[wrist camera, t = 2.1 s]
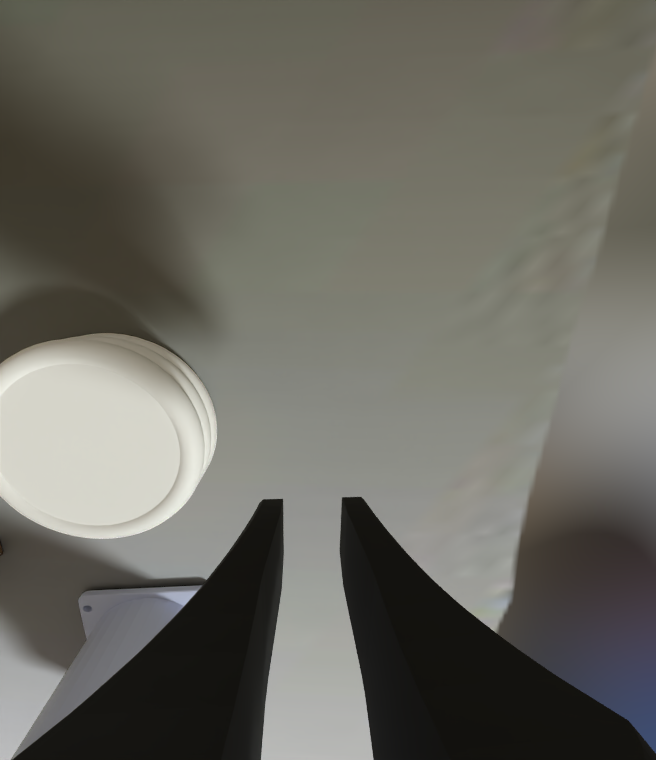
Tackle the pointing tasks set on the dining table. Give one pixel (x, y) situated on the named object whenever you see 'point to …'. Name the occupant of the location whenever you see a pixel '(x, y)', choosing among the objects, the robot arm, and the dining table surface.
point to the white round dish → (102, 434)
